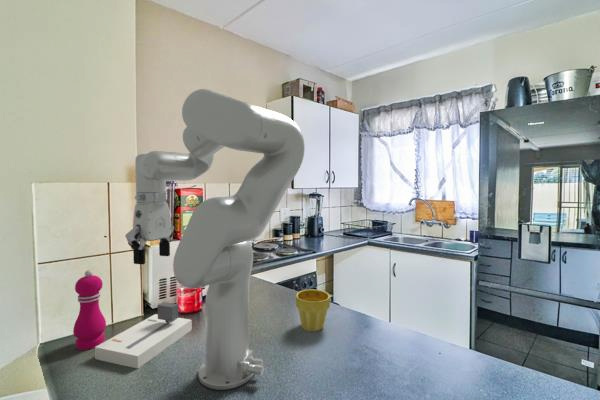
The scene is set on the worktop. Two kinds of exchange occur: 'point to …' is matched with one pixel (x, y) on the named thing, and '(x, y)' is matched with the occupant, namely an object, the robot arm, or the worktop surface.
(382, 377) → the worktop surface
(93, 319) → the pepper mill
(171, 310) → the fader cap
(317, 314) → the plant pot
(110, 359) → the slotted white slab
